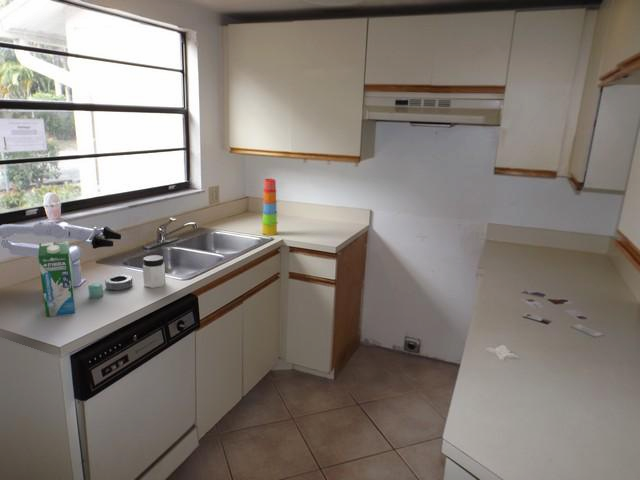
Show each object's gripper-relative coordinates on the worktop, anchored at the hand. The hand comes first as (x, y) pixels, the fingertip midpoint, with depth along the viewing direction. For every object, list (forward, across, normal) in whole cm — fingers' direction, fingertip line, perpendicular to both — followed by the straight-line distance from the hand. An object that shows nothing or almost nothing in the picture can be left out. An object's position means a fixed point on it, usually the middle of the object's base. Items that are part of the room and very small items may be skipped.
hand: (116, 240), depth 184 cm
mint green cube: (-2, -15, +19) cm, 24 cm away
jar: (+17, 0, +18) cm, 24 cm away
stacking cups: (+58, +92, +22) cm, 111 cm away
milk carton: (-8, -28, +18) cm, 35 cm away
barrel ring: (+3, -4, +19) cm, 20 cm away
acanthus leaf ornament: (+145, -50, -8) cm, 154 cm away
